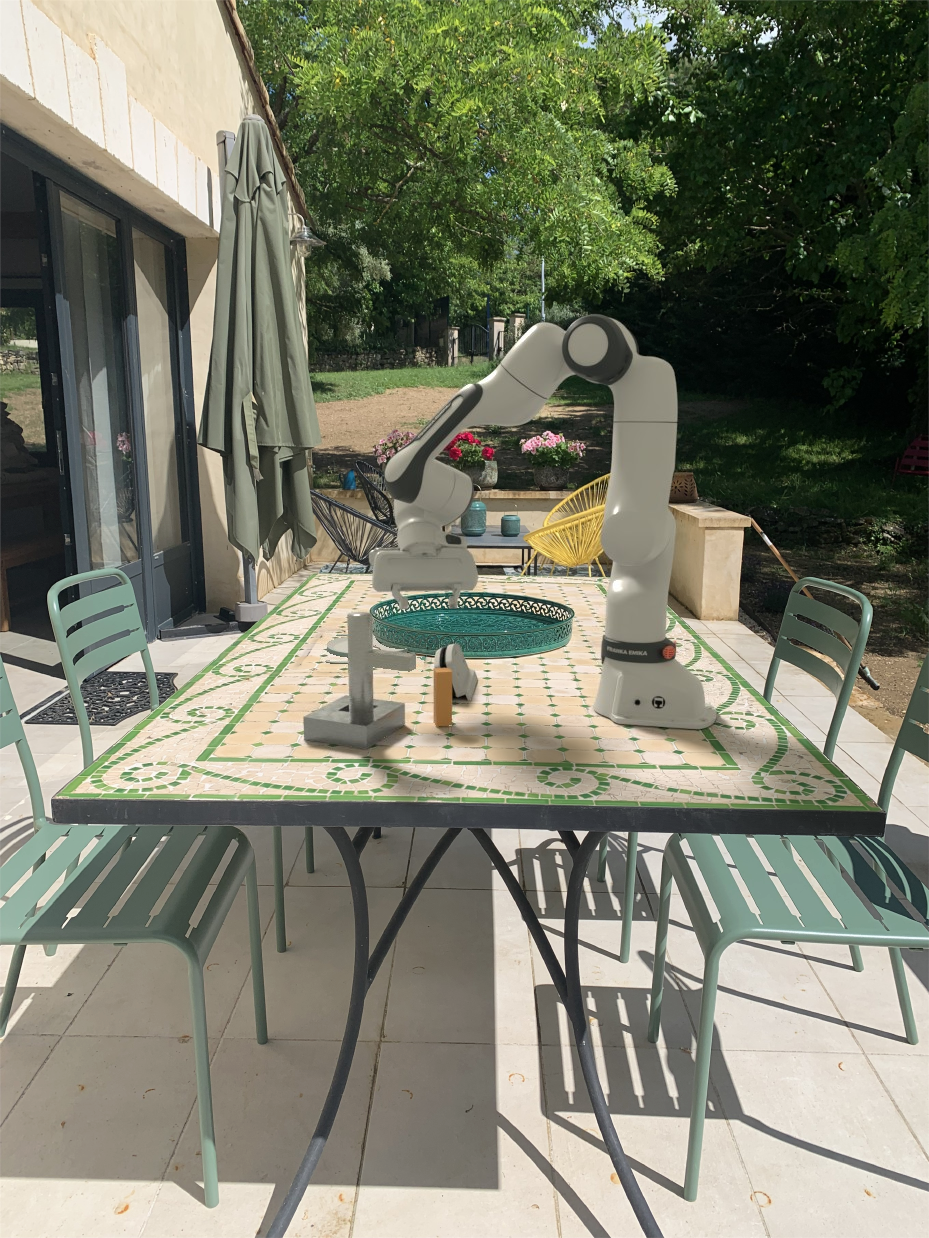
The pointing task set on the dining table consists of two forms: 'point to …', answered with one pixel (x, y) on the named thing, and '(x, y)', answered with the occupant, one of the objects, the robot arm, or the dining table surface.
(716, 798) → the dining table surface
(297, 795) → the dining table surface
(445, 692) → the orange rectangular block
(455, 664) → the grey rounded block
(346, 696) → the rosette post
